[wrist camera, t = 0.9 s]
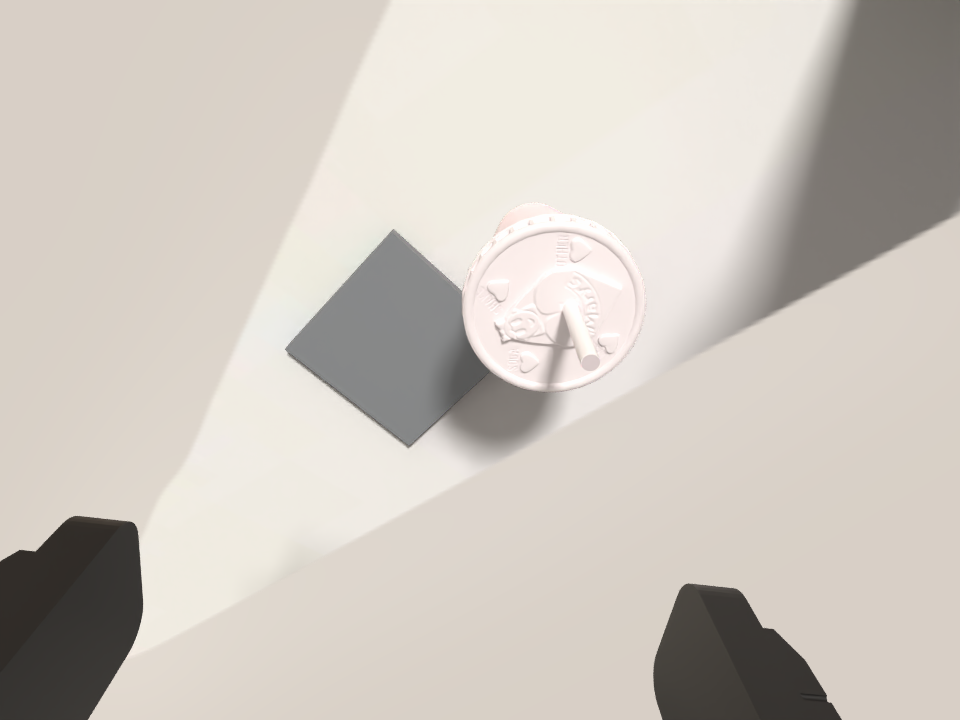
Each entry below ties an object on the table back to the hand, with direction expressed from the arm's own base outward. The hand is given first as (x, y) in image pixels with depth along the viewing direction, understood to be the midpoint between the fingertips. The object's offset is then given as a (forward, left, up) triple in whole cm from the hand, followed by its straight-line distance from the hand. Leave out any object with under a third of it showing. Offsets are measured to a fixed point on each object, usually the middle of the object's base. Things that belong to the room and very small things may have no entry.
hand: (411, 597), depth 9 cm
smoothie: (-2, +3, -23) cm, 23 cm away
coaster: (+6, +2, -23) cm, 23 cm away
